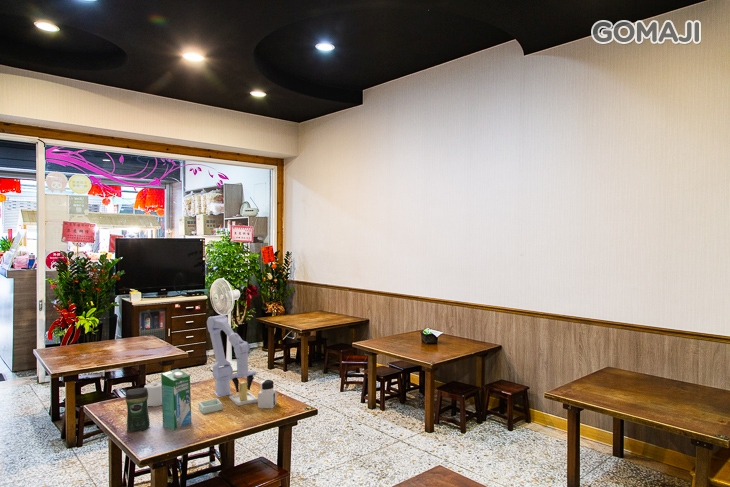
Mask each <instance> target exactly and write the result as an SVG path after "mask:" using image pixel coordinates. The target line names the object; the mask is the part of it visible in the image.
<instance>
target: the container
mask: <svg viewBox="0 0 730 487" xmlns="http://www.w3.org/2000/svg"><path fill="white" fill-rule="evenodd" d="M274 386H275V385H274V381H273V380H271V379H264V380H262V381H260V391H259V392H258V393H257V399H258V402H257V407H258V409H273V408H275V406H276V405H277V402H278V398H277V396H278V394H277V391H278V390H277V388H275V387H274Z"/></svg>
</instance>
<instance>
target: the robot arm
mask: <svg viewBox="0 0 730 487" xmlns="http://www.w3.org/2000/svg"><path fill="white" fill-rule="evenodd" d="M206 325H207V331H208V333H209V336H210V340H211V341H210V342H211V343H212V350H213V354H214V359H215V363H214V364H213V366H212V367H211V368H212V377H213V378H214V380H215V382H214V383H215V391H214V392H213V394H214V395H215V396H217V397H218V398H221V397H225V396H232V395H233V393H232V392H231V382H232V383H233V385H234V387H235V391H236V393H240V391H239V383H240V381H239V379H241V378H246V382H247V391H251V385H252V383H253V381H254V376H257V371H255V370H253V371H249V361H248V360H249V357H248V353H249V352H250V350H251V346H250V344H249V342H248V341H245V340H243V339H242V337H241V336H240V335H239V334H238V333H237V332H234V330H233V329H232V327H231V325H230V324H229V318H228V317H227V315H225V314H220V315H215V316H209V317H208V318H207V320H206ZM221 331H223V332H224V333H225V335H226V336H227V337H228V342H230V344H231V346H232V347H233V351H234V353H235V358H236V373H234V370H233V366H232V365H231V362H230V361H229V360H227V359H226V355H225V352H224V346H223V340H222V336H221Z"/></svg>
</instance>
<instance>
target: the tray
mask: <svg viewBox="0 0 730 487" xmlns="http://www.w3.org/2000/svg"><path fill="white" fill-rule="evenodd" d="M228 396H229V400H230V401H232V403H233V404H234V405H236V407H238V406H242V405H247V404H256V403H257V404H258V397H256V396H255V395H254V394H253V393H251V392H249V391H247V400H246V401H240V393H238V394H231V395H228Z"/></svg>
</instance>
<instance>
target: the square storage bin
mask: <svg viewBox="0 0 730 487" xmlns="http://www.w3.org/2000/svg"><path fill="white" fill-rule="evenodd" d="M197 403H198V409H199V411H200V412H201V413H202V414H208V413H213V412H214V413H215V412H218V411H222V410H223V409H224V408H223V402H221V400H220V399H219V397H218V398H212V399H207V400H202V401H198V402H197Z"/></svg>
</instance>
